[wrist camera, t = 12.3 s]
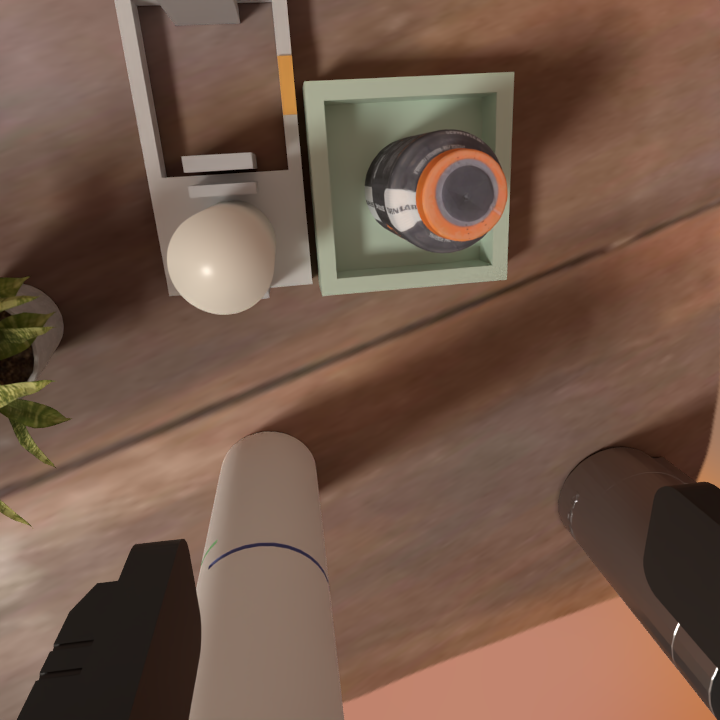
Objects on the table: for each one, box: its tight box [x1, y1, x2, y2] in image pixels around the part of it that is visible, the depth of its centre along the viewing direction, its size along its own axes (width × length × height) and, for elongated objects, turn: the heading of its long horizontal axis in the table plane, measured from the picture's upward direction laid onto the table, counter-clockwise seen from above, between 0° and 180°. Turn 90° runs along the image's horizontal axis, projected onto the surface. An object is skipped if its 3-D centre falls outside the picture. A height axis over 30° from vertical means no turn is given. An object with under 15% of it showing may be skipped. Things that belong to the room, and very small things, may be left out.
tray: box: [302, 72, 514, 296], centre depth 33 cm, size 12×12×3 cm
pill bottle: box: [365, 129, 508, 253], centre depth 29 cm, size 6×6×11 cm
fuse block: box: [114, 0, 312, 315], centre depth 27 cm, size 9×23×10 cm, turn 4°
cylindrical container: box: [189, 431, 344, 720], centre depth 29 cm, size 7×7×25 cm
